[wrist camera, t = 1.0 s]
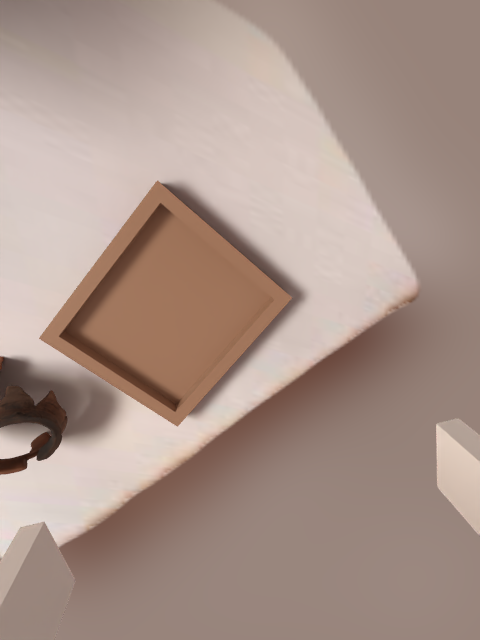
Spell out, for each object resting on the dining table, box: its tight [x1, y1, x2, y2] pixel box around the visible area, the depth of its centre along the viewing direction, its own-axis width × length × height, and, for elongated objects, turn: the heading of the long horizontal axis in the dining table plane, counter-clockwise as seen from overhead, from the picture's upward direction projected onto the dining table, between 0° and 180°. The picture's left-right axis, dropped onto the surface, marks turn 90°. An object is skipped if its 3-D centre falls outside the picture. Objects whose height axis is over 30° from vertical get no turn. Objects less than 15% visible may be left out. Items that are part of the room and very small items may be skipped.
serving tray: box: [39, 181, 292, 426], centre depth 31 cm, size 15×17×2 cm
